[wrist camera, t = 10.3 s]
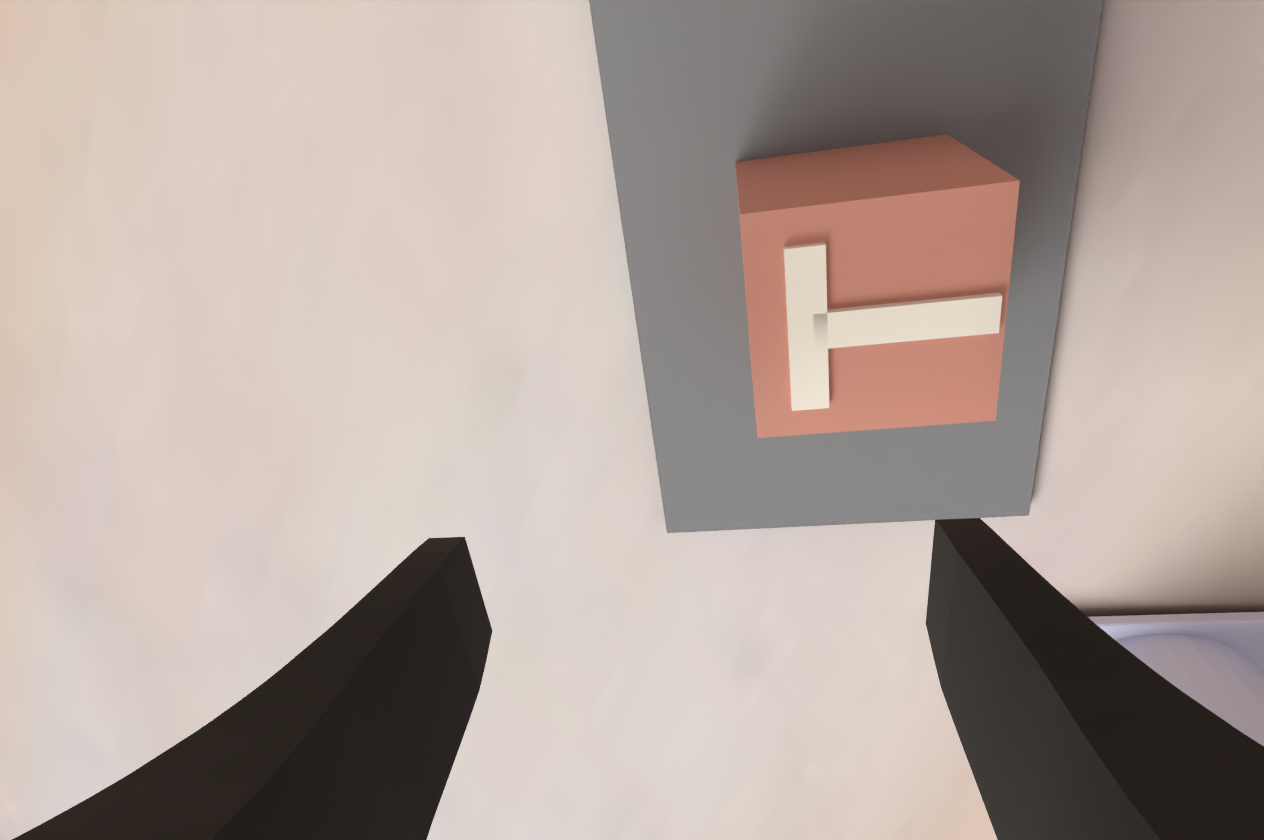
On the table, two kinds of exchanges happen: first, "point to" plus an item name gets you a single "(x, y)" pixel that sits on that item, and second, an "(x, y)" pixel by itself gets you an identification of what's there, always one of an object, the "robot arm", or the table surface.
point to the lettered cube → (876, 285)
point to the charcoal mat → (816, 121)
